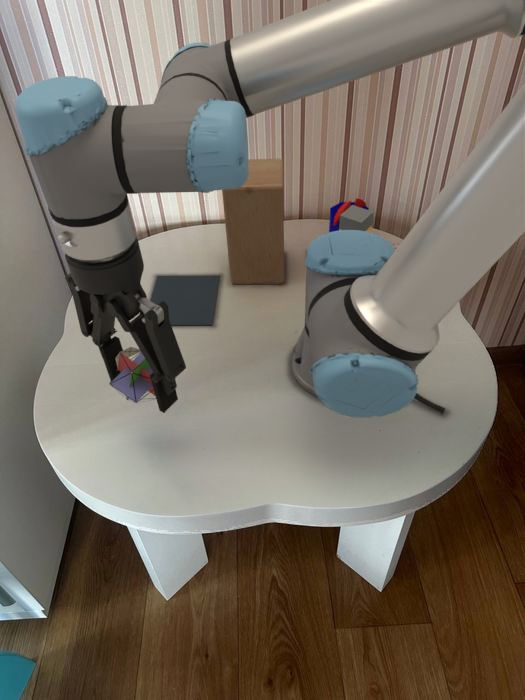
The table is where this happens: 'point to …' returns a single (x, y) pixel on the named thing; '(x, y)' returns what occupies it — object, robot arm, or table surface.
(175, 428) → the table surface
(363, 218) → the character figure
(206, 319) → the mat
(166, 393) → the robot arm
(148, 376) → the geometric puzzle
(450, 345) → the table surface
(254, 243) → the wooden block
